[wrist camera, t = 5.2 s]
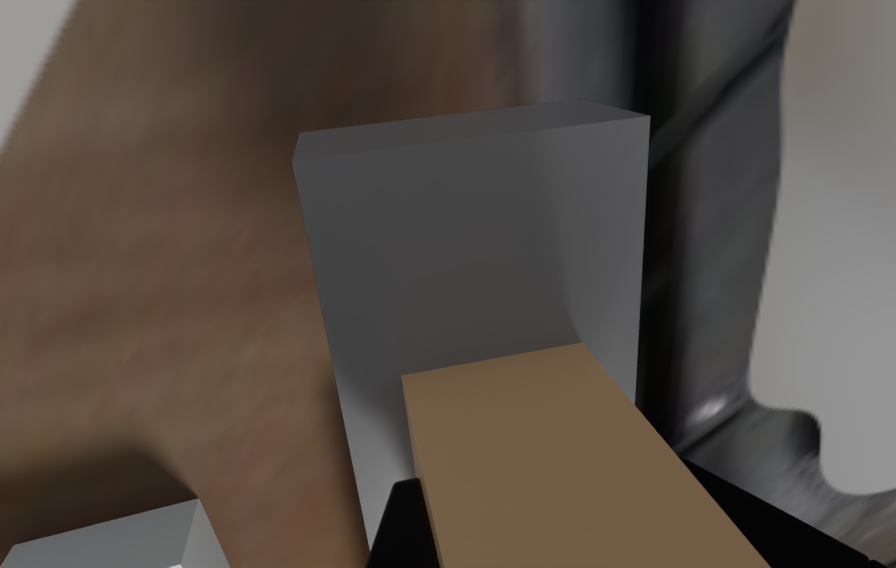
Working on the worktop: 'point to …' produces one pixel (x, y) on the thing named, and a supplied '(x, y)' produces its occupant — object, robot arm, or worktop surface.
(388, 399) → the tan block grey base
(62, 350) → the worktop surface
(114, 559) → the tile
